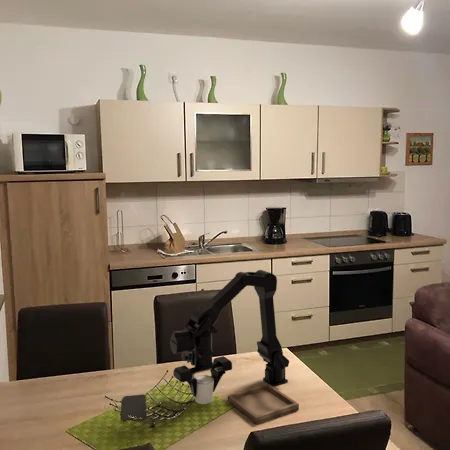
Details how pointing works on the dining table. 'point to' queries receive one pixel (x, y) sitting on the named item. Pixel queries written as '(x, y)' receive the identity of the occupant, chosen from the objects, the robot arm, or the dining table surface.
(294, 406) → the walnut tray
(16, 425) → the dining table surface
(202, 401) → the shot glass
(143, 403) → the phone
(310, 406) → the dining table surface
